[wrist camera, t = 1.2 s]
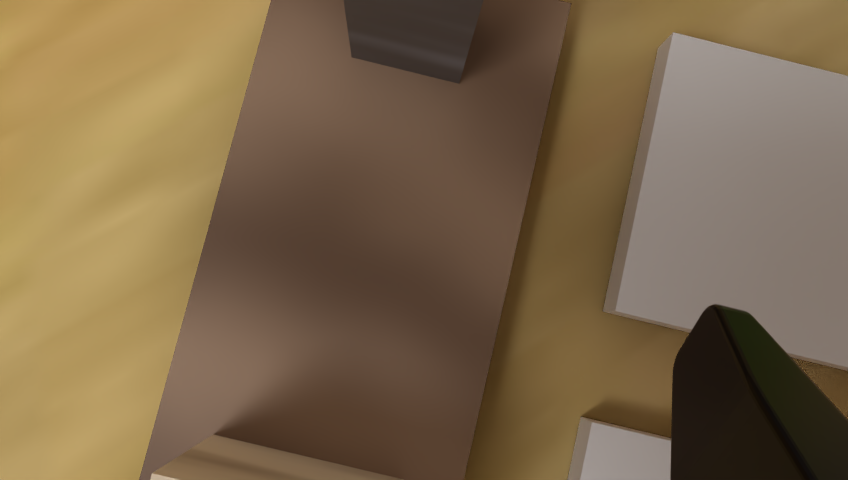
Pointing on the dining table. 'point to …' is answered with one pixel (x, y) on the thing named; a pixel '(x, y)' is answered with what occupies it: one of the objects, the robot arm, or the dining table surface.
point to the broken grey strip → (730, 218)
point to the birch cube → (253, 464)
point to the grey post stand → (365, 233)
